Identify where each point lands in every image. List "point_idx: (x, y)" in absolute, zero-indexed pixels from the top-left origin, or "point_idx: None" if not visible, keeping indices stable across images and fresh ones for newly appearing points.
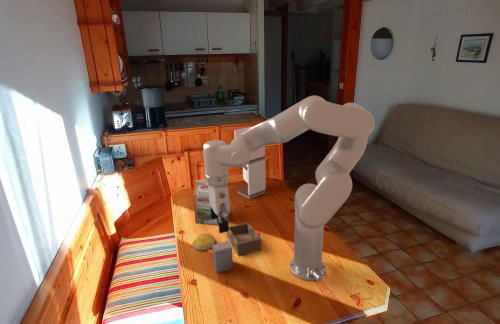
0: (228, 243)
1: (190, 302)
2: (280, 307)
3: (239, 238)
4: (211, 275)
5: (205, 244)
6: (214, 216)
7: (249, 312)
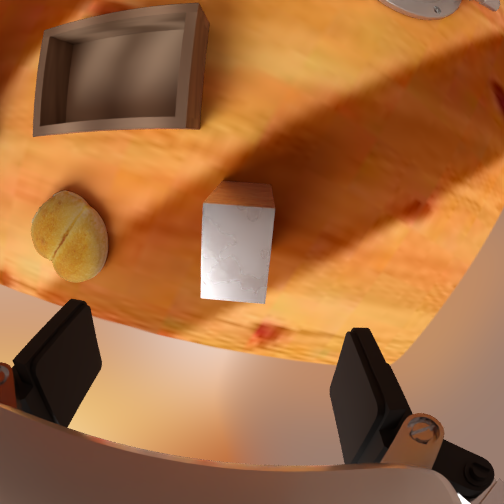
0: (228, 211)
1: None
2: (497, 151)
3: (96, 87)
4: None
5: (94, 248)
6: (87, 361)
7: (469, 234)
